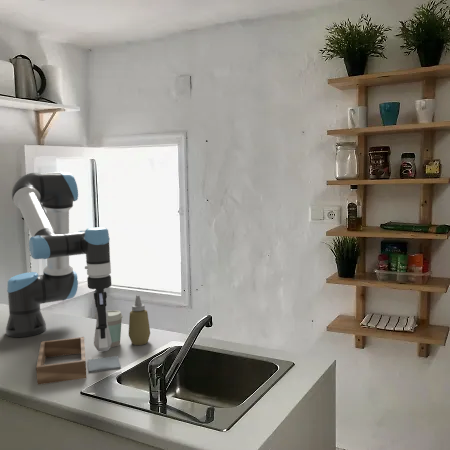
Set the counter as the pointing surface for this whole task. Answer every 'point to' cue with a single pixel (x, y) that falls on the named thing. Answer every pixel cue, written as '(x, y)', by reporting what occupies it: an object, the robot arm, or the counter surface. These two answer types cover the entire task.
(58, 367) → the crate
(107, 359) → the mat
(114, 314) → the coffee cup
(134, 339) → the squeeze bottle
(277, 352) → the counter surface
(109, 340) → the salt shaker
